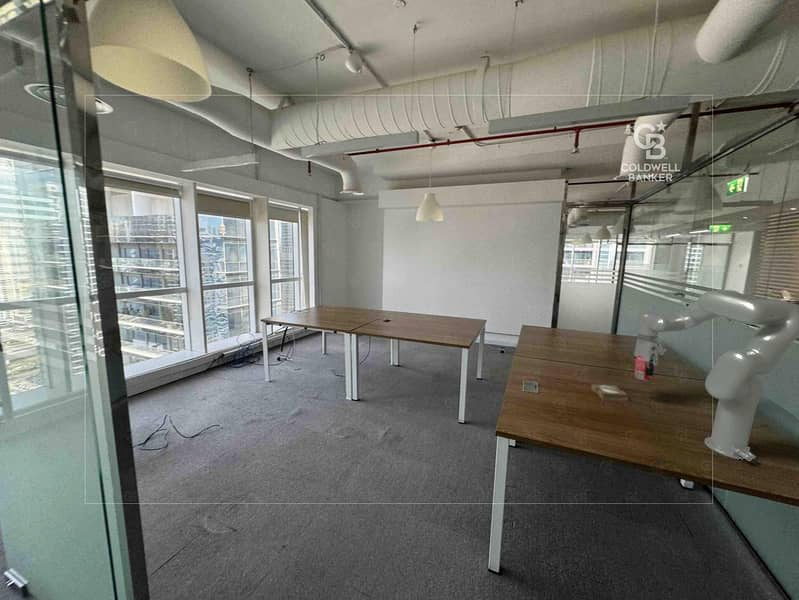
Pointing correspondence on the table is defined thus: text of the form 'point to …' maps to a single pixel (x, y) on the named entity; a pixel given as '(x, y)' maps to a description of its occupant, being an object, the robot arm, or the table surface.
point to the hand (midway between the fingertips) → (643, 372)
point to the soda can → (641, 369)
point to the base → (609, 392)
